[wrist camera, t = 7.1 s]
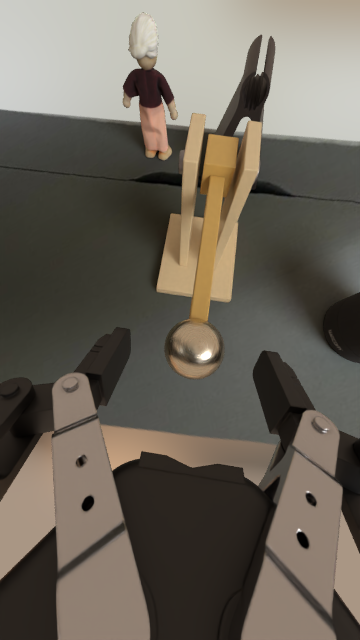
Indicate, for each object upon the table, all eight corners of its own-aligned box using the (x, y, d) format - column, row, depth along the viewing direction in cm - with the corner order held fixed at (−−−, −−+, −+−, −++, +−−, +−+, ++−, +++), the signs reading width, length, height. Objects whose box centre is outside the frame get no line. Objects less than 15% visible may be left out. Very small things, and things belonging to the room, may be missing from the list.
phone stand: (200, 179, 30) (215, 64, 18) (206, 152, 31) (225, 27, 20) (254, 190, 30) (305, 80, 18) (259, 162, 31) (308, 42, 19)
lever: (214, 380, 13) (229, 388, 9) (161, 372, 13) (156, 376, 9) (235, 178, 16) (251, 128, 13) (195, 173, 16) (200, 121, 13)
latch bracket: (228, 302, 26) (296, 226, 11) (157, 292, 26) (133, 202, 11) (235, 228, 28) (298, 89, 14) (171, 219, 28) (166, 71, 14)
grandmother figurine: (178, 144, 32) (179, 5, 19) (177, 162, 31) (177, 28, 18) (133, 142, 32) (105, 0, 19) (131, 159, 31) (100, 23, 18)
